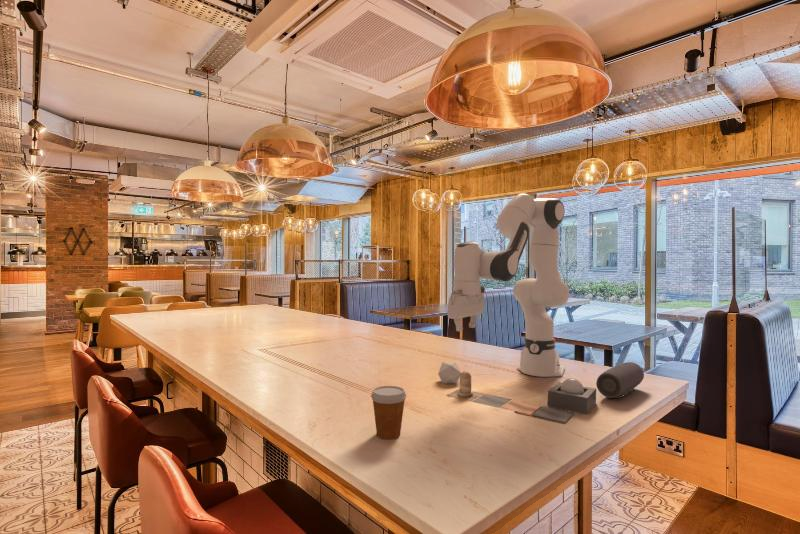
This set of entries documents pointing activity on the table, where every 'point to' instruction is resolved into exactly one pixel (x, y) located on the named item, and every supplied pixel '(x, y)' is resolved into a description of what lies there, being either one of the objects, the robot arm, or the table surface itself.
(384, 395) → the disposable coffee cup
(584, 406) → the housing
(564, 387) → the pale grey ball
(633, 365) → the bluetooth speaker
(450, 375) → the die
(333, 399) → the table surface
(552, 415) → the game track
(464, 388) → the tan rounded peg
